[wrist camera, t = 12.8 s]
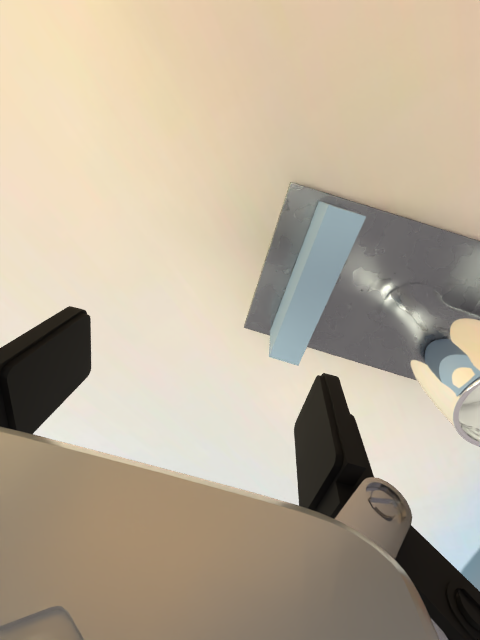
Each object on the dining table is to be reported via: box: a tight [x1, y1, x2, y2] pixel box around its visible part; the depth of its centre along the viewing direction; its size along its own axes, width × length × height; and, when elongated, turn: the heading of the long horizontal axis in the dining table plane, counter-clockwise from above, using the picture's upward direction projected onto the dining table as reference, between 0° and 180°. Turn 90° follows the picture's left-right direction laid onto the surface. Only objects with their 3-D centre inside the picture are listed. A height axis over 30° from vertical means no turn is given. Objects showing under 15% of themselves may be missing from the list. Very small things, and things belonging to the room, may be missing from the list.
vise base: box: [244, 182, 480, 380], centre depth 28 cm, size 26×16×8 cm, turn 75°
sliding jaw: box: [269, 201, 366, 365], centre depth 27 cm, size 3×14×6 cm, turn 165°
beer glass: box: [380, 283, 480, 447], centre depth 23 cm, size 7×7×15 cm
